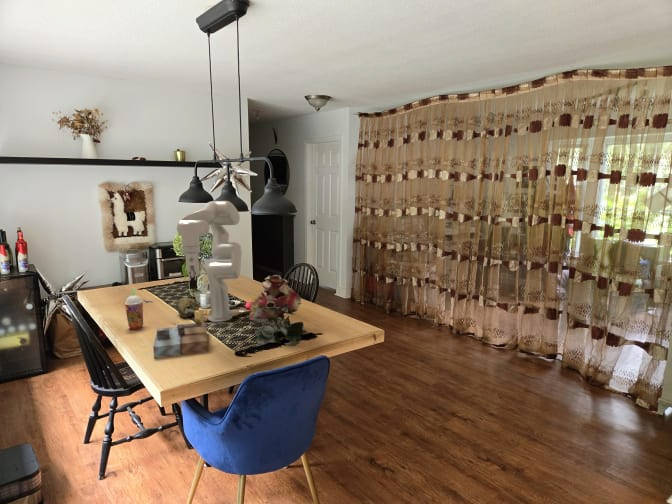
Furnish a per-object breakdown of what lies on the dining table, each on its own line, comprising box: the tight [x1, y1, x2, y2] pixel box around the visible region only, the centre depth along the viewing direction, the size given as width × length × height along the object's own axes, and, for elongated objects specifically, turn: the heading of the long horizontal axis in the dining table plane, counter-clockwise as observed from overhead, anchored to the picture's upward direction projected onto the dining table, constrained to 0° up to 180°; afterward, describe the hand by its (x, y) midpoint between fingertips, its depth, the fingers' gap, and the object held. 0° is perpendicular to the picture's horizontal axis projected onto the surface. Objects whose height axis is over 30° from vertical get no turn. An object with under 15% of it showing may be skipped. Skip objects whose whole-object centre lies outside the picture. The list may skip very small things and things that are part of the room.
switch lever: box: [176, 309, 204, 329], centre depth 191 cm, size 11×4×7 cm, turn 109°
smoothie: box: [124, 289, 144, 330], centre depth 214 cm, size 8×8×20 cm
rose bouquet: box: [248, 274, 305, 347], centre depth 200 cm, size 26×29×30 cm
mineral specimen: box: [175, 297, 201, 318], centre depth 234 cm, size 14×13×10 cm
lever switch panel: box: [152, 323, 209, 359], centre depth 191 cm, size 22×24×9 cm
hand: (193, 286), depth 191 cm, fingers open, 9 cm apart
